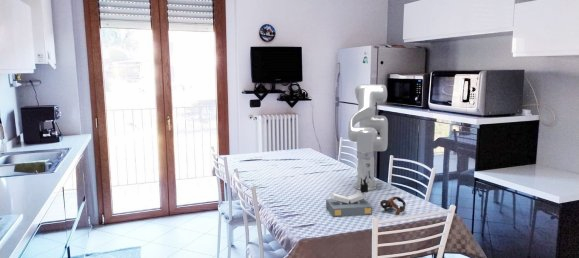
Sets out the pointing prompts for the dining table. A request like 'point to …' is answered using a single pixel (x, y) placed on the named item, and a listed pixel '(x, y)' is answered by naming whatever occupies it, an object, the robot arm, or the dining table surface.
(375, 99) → the robot arm
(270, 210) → the dining table surface
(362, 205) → the switch unit
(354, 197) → the rocker
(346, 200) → the rocker
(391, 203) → the brown looped piece
